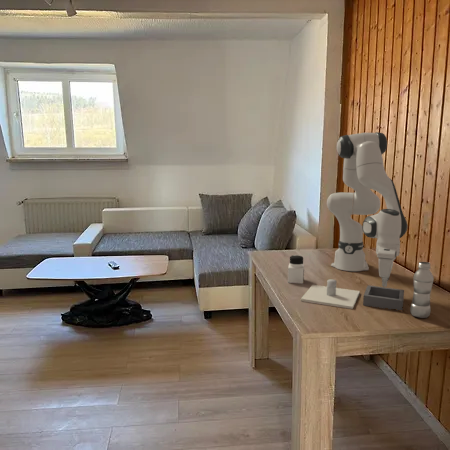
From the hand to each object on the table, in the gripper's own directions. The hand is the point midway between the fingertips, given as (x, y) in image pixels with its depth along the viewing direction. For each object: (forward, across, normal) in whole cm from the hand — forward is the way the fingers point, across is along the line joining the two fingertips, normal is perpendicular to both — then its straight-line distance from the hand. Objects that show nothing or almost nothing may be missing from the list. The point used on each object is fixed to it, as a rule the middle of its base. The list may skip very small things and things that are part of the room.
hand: (385, 283), depth 166 cm
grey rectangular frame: (+6, +6, 0) cm, 8 cm away
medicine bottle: (+6, -6, -39) cm, 40 cm away
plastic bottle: (+7, +15, +13) cm, 21 cm away
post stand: (+6, +9, -20) cm, 23 cm away
